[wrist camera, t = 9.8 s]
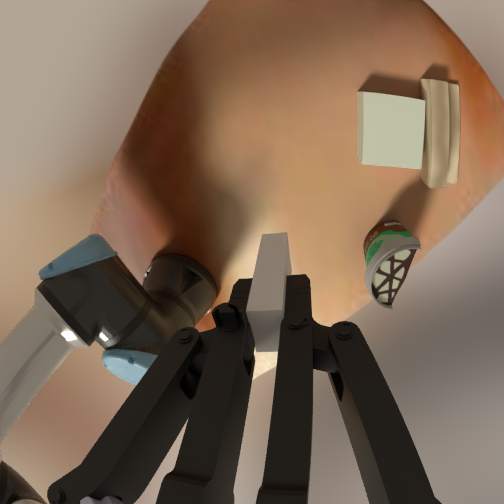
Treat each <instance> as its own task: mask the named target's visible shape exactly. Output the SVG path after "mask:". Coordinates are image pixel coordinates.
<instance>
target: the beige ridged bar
mask: <svg viewBox="0 0 504 504" xmlns="http://www.w3.org/2000/svg"><path fill="white" fill-rule="evenodd" d="M420 85H421V99H422V100H425V126H424V142H423V154H422V174H421V180H422V181H423V182H424V183H425V184H426V185H427V186H428V187H429V188H446V184H447V183H457V173H458V160H459V141H460V106H459V87H458V85H456V84H451V83H448V82H445V81H440V80H433V79H420Z"/></svg>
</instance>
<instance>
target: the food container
mask: <svg viewBox="0 0 504 504" xmlns="http://www.w3.org/2000/svg"><path fill="white" fill-rule="evenodd" d="M420 245H421V244H420V242H419V239H418V238H416V237H412V236H411V235H410V233H409V232H408V231H407V230H406V229H405V228H404V226H403V225H402V224H401V223H400V222H399V221H386V222H383V223H381V224H379V225H376V226H375V227H374V228H373V229H372V230H371V231H370V232H369V233H368V235H367V236H366V238H365V241H364V254H365V260H366V266H367V268H366V272H365V284H366V288H367V290H368V292H369V293H370V295H371V297H372V298H373V299H374V300H375V301H376V302H377V303H378V304H379V305H380V306H382V307H384V308H387V309H391V310H392V303H393V300H394V298H395V296H396V294H397V292H398V290H399V289H400V287H401V285H402V284H403V282H404V280H405V278H406V275H407V273H408V270H409V267H410V264H411V262H412V260H413V257H414V255H415V253H416V250H417V249H421V247H420Z"/></svg>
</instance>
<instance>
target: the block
mask: <svg viewBox="0 0 504 504" xmlns="http://www.w3.org/2000/svg"><path fill="white" fill-rule="evenodd" d="M357 95H358V140H357V159H358V160H359V161H360V162H361V164H365V165H379V166H391V167H402V168H412V169H421V164H422V154H423V142H424V126H425V100H420V99H414V98H409V97H402V96H396V95H389V94H381V93H372V92H359V91H357Z"/></svg>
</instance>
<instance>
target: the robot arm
mask: <svg viewBox="0 0 504 504" xmlns="http://www.w3.org/2000/svg"><path fill="white" fill-rule="evenodd" d="M117 254H118V253H117V252H116V251H114V250H113V249H112V248H111V246H110V245H109V244H108V243H107V241H106V240H105V239H104V238H103V237H102V236H100V235H98V234H92V235H90V236H88V237H87V238H85V239H83V240H82V241H80V242H79V243H77V244H76V245H74V246H73V247H71V248H70V249H69V250H67V251H66V252H64V253H63V254H61V255H60V256H59V257H57V258H56V259H55V260H53V261H52V262H51V263H49V264H48V265H46V266H45V267H44V268H42V269H41V270H40V271H39V275H40V279H41V280H43V281H42V282H41V283H40V284H39V286H38V287H37V288H36V289H35V302H34V306H33V307H32V308H31V309H30V310H29V311H28V312H27V314H26V315H25V316H24V317H23V318H22V319H21V321H20V322H19V323H18V324H17V325H16V326H15V328H14V329H13V330H12V331H11V332H10V334H9V335H8V336H7V337H6V339H5V340H4V341H3V342H2V344H1V345H0V444H1V443H2V441H3V440H4V438H5V437H6V435H7V434H8V433H9V431H10V430H11V428H12V427H13V426H14V424H15V423H16V421H17V420H18V418H19V417H20V416H21V414H22V413H23V412H24V410H25V409H26V408H27V406H28V405H29V404H30V402H31V401H32V400H33V398H34V397H35V396H36V394H37V393H38V392H39V391H40V389H41V388H42V387H43V385H44V384H45V383H46V382H47V380H48V379H49V378H50V377H51V375H52V374H53V373H54V372H55V370H56V369H57V368H58V367H59V365H60V364H61V363H62V362H63V361H64V360H65V358H66V357H67V356H68V355H69V354H70V352H71V351H72V350H73V349H75V348H88V347H89V346H90V345H91V344H92V343H93V342H94V341H95V340H96V341H97V342H98V343H99V344H100V345H101V346H102V347H103V348H104V349H105V351H104V352H103V354H102V362H103V364H104V365H105V367H106V368H107V369H108V370H109V371H110V372H111V373H113V374H114V375H116V376H117V377H119V378H120V379H122V380H124V381H126V382H129V383H131V384H134V385H136V387H135V388H134V389H133V391H132V392H131V394H130V395H129V397H128V398H127V399H126V401H125V402H124V404H123V405H122V406H121V408H120V409H119V411H118V412H117V413H116V415H115V416H114V417H113V419H112V420H111V422H110V423H109V425H108V426H107V428H106V429H105V430H104V432H103V433H102V435H101V436H100V437H99V439H98V440H97V442H96V443H95V444H94V446H93V447H92V449H91V450H90V452H89V453H88V454H87V456H86V457H85V459H84V460H83V462H82V463H81V465H79V466H78V467H77V468H75V469H73V470H72V471H71V472H69V473H68V474H66V475H65V476H63V477H62V478H60V479H59V480H57V481H56V482H54V483H53V484H52V485H51V486H50V487H49V489H48V492H47V497H48V500H49V503H50V504H133V503H135V502H136V500H137V499H138V498H139V497H140V496H141V495H142V493H143V492H144V490H145V489H146V487H147V486H148V484H149V482H150V481H151V479H152V478H153V476H154V474H155V473H156V471H157V469H158V468H159V466H160V464H161V462H162V461H163V459H164V458H165V456H166V455H167V453H168V451H169V449H170V448H171V446H172V445H173V443H174V441H175V440H176V438H177V436H178V435H179V433H180V431H181V430H182V428H183V426H184V424H185V423H186V421H187V419H188V418H189V419H188V422H187V426H186V429H185V433H184V436H183V440H182V443H181V447H180V450H179V454H178V457H177V461H176V464H175V467H174V469H173V471H171V472H170V473H168V474H167V475H166V476H165V477H164V479H163V481H162V484H161V487H160V490H159V494H158V498H157V501H156V504H234V494H233V489H234V482H235V477H236V472H237V466H238V460H239V455H240V449H241V444H242V438H243V432H244V426H245V420H246V414H247V408H248V402H249V395H250V390H251V384H252V378H253V372H254V365H255V356H254V348H256V352H275V351H278V358H277V368H276V378H275V387H274V397H273V406H272V414H271V423H270V431H269V439H268V447H267V454H266V461H265V469H264V476H263V482H262V485H261V487H260V489H259V491H258V495H257V500H256V504H308V493H309V481H310V465H311V447H312V421H313V420H312V418H313V417H312V416H313V369H316V370H321V371H325V372H327V373H328V376H329V379H330V382H331V385H332V388H333V390H334V393H335V396H336V399H337V402H338V405H339V408H340V411H341V414H342V417H343V420H344V423H345V426H346V429H347V432H348V435H349V438H350V442H351V444H352V448H353V451H354V454H355V457H356V460H357V463H358V467H359V470H360V473H361V477H362V480H363V483H364V487H365V490H366V493H367V497H368V500H369V504H442V503H440V502H439V501H438V500H437V499H436V498H435V497H434V494H433V491H432V489H431V486H430V483H429V480H428V478H427V475H426V473H425V470H424V467H423V465H422V462H421V460H420V457H419V455H418V452H417V450H416V447H415V445H414V443H413V440H412V438H411V436H410V433H409V431H408V429H407V426H406V424H405V422H404V419H403V417H402V415H401V413H400V411H399V408H398V406H397V404H396V402H395V400H394V397H393V395H392V393H391V391H390V389H389V387H388V385H387V383H386V380H385V378H384V376H383V374H382V372H381V370H380V368H379V366H378V364H377V362H376V360H375V358H374V356H373V354H372V352H371V350H370V349H369V346H368V344H367V342H366V340H365V338H364V337H363V335H362V333H361V331H360V329H359V328H358V326H357V325H356V324H354V323H352V322H347V321H342V322H338V323H335V324H334V325H333V326H331V327H327V326H323V325H320V324H318V323H317V322H316V321H314V319H313V317H312V306H311V287H310V279H309V278H308V277H307V275H306V274H301V275H291V271H292V269H291V261H290V252H289V244H288V236H287V232H286V233H274V234H263V235H262V238H261V242H260V247H259V252H258V257H257V261H256V266H255V271H254V275H253V278H250V279H239V280H238V281H237V282H236V283H235V284H234V286H233V289H232V293H231V296H230V299H229V302H227V303H222V304H220V305H218V306H217V307H215V308H214V309H213V311H212V316H213V319H214V321H215V324H216V328H214V329H211V330H208V331H204V332H200V333H199V332H198V330H197V329H195V328H194V327H195V325H196V324H197V323H198V322H199V321H200V320H201V319H202V318H203V316H205V315H206V314H207V313H208V312H209V311H210V310H211V308H212V307H213V304H214V302H215V299H216V295H217V289H216V284H215V282H214V280H213V278H212V276H211V275H210V273H209V272H208V271H207V270H206V269H205V268H204V267H203V266H202V265H201V264H199V263H198V262H196V261H195V260H193V259H191V258H188V257H186V256H182V255H177V254H166V255H162V256H160V257H158V258H156V259H155V260H154V261H153V262H152V263H151V264H150V266H149V267H148V269H147V270H146V273H145V276H144V281H143V285H142V286H141V284H140V283H139V282H138V281H137V279H136V278H135V277H134V276H133V274H132V273H131V272H130V271H129V269H128V268H127V267H126V266H125V264H124V263H123V262H122V260H121V259H120V258H119V256H118V255H117ZM0 504H47V503H46V502H45V501H44V500H43V498H42V497H41V496H40V495H39V494H38V493H37V492H36V491H35V490H34V489H33V488H32V486H30V485H29V483H28V482H27V481H26V480H25V479H24V478H23V477H22V476H21V475H20V474H18V473H17V472H16V471H15V470H14V469H13V468H12V467H10V466H9V465H7V464H6V463H4V462H3V461H2V454H1V451H0Z"/></svg>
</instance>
